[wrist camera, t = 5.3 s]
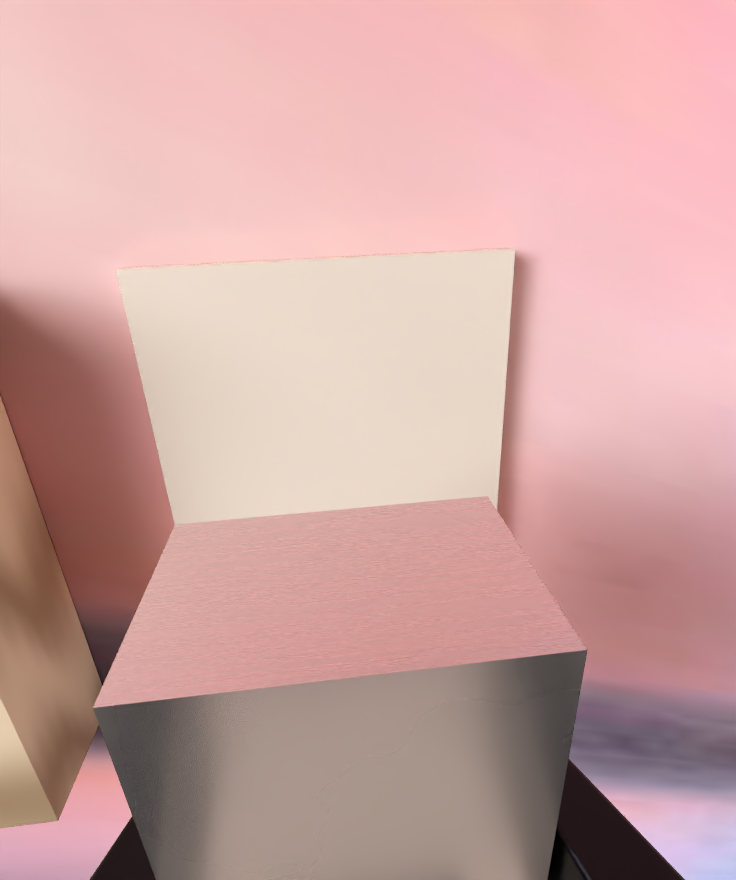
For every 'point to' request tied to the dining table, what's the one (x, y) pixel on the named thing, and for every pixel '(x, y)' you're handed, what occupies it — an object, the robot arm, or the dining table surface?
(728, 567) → the dining table surface
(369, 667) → the lever cap
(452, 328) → the board
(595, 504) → the dining table surface
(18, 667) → the body
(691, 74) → the dining table surface
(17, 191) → the dining table surface
